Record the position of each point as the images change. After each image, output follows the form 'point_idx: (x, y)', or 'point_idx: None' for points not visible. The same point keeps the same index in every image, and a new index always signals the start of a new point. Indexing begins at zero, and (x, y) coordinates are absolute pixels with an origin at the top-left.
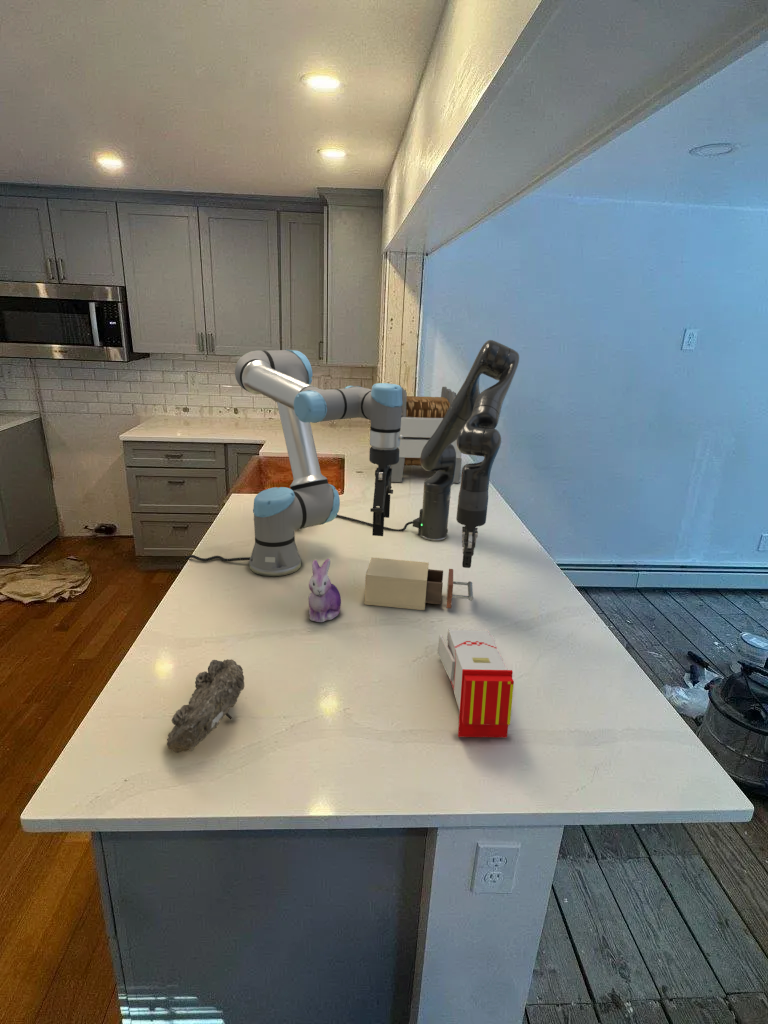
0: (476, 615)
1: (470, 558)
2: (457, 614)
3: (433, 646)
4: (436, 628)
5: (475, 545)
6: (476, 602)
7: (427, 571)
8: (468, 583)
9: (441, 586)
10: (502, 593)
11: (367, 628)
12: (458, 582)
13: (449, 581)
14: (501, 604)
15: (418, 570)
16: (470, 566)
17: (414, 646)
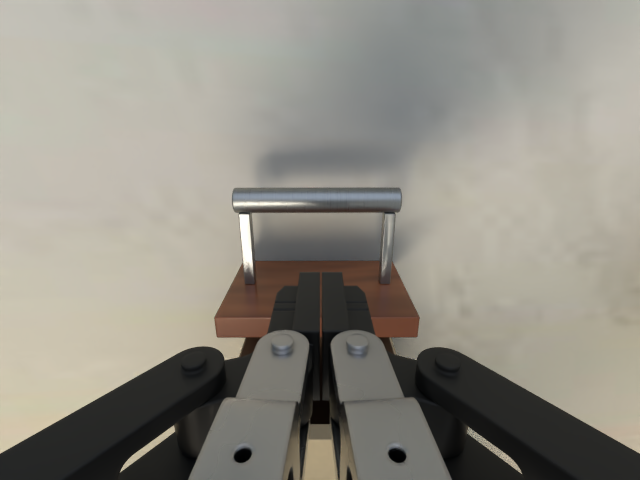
0: (405, 155)
1: (348, 319)
2: (406, 229)
3: (618, 302)
4: (508, 297)
5: (428, 426)
6: (292, 151)
7: (321, 441)
8: (252, 210)
9: (392, 352)
10: (164, 10)
11: (508, 461)
12: (250, 257)
13: (376, 333)
14: (285, 26)
15: (319, 473)
16: (341, 274)
17: (612, 352)
